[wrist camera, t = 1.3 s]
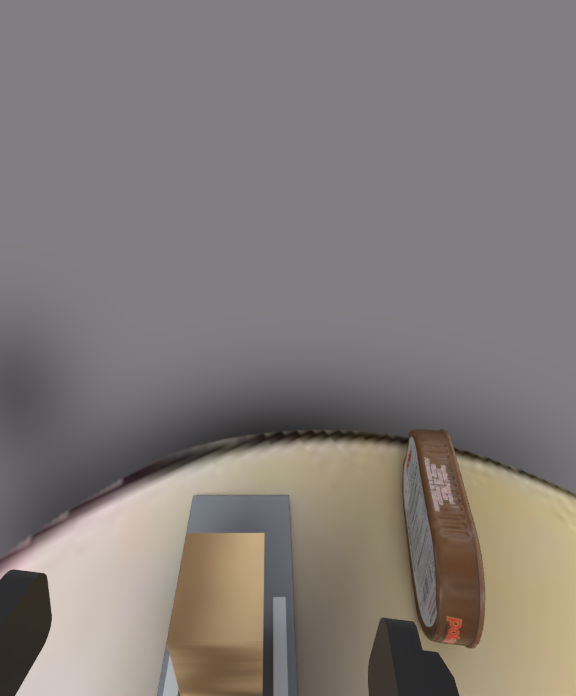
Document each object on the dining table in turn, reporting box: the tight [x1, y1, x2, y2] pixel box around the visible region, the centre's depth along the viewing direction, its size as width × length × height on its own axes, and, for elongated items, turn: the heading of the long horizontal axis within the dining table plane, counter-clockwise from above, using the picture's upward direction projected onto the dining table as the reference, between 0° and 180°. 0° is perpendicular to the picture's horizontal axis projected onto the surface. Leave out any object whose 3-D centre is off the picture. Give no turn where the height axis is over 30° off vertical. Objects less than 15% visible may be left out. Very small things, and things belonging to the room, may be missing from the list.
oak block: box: [167, 533, 265, 696], centre depth 23 cm, size 4×5×10 cm
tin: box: [403, 430, 485, 648], centre depth 31 cm, size 15×3×8 cm, turn 173°
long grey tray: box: [157, 495, 297, 696], centre depth 26 cm, size 8×23×2 cm, turn 2°
